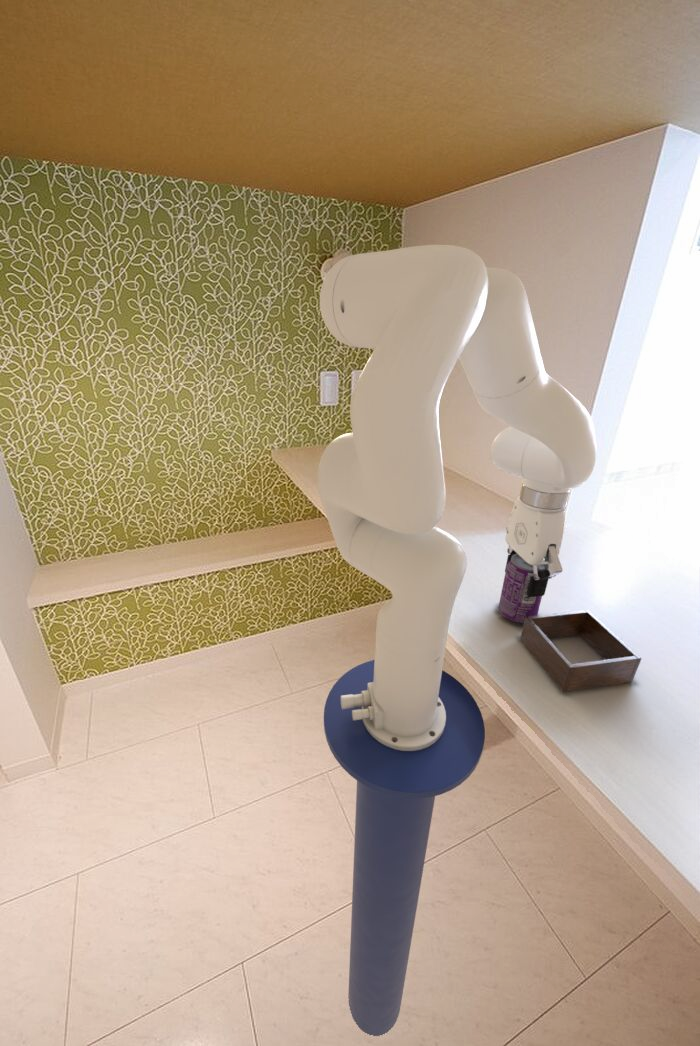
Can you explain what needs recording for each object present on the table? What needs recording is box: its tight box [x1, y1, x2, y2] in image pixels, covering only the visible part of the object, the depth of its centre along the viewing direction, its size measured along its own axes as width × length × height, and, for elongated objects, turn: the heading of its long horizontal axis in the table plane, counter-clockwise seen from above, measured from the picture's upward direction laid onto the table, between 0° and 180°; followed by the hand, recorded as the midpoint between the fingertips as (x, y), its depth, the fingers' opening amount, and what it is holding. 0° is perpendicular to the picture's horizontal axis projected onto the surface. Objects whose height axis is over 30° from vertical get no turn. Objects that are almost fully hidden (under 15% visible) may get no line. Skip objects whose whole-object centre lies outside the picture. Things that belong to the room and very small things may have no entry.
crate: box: [519, 609, 642, 693], centre depth 72 cm, size 12×12×5 cm
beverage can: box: [498, 554, 545, 624], centre depth 82 cm, size 7×7×12 cm
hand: (523, 583), depth 81 cm, fingers closed on beverage can, 7 cm apart
